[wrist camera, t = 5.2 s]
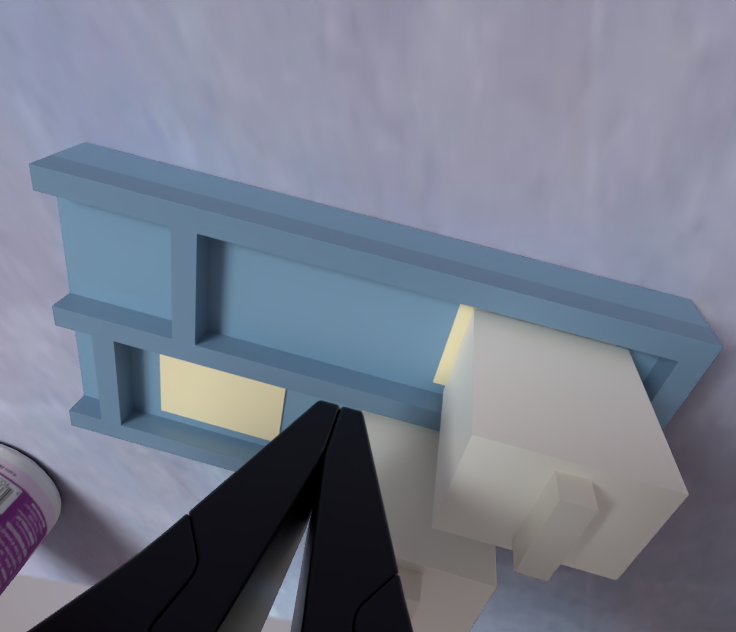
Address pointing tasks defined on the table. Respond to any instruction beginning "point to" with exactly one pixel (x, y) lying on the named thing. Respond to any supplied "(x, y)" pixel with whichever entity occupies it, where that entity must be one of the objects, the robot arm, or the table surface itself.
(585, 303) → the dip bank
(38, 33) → the table surface
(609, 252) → the table surface
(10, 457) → the pill bottle
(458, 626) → the tab far
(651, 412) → the tab near
